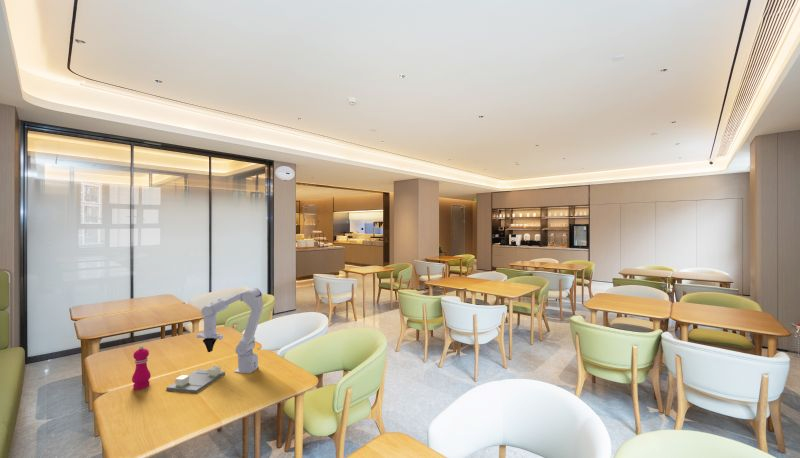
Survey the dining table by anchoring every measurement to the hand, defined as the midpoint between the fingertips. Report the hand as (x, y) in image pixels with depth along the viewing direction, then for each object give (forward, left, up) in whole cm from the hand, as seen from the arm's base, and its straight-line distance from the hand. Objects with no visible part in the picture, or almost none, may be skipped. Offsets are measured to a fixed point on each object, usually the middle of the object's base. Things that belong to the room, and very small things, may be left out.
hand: (210, 351), depth 184 cm
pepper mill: (+18, +24, -10) cm, 31 cm away
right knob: (-10, +9, -7) cm, 15 cm away
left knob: (-2, +21, -8) cm, 22 cm away
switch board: (-5, +15, -9) cm, 18 cm away
